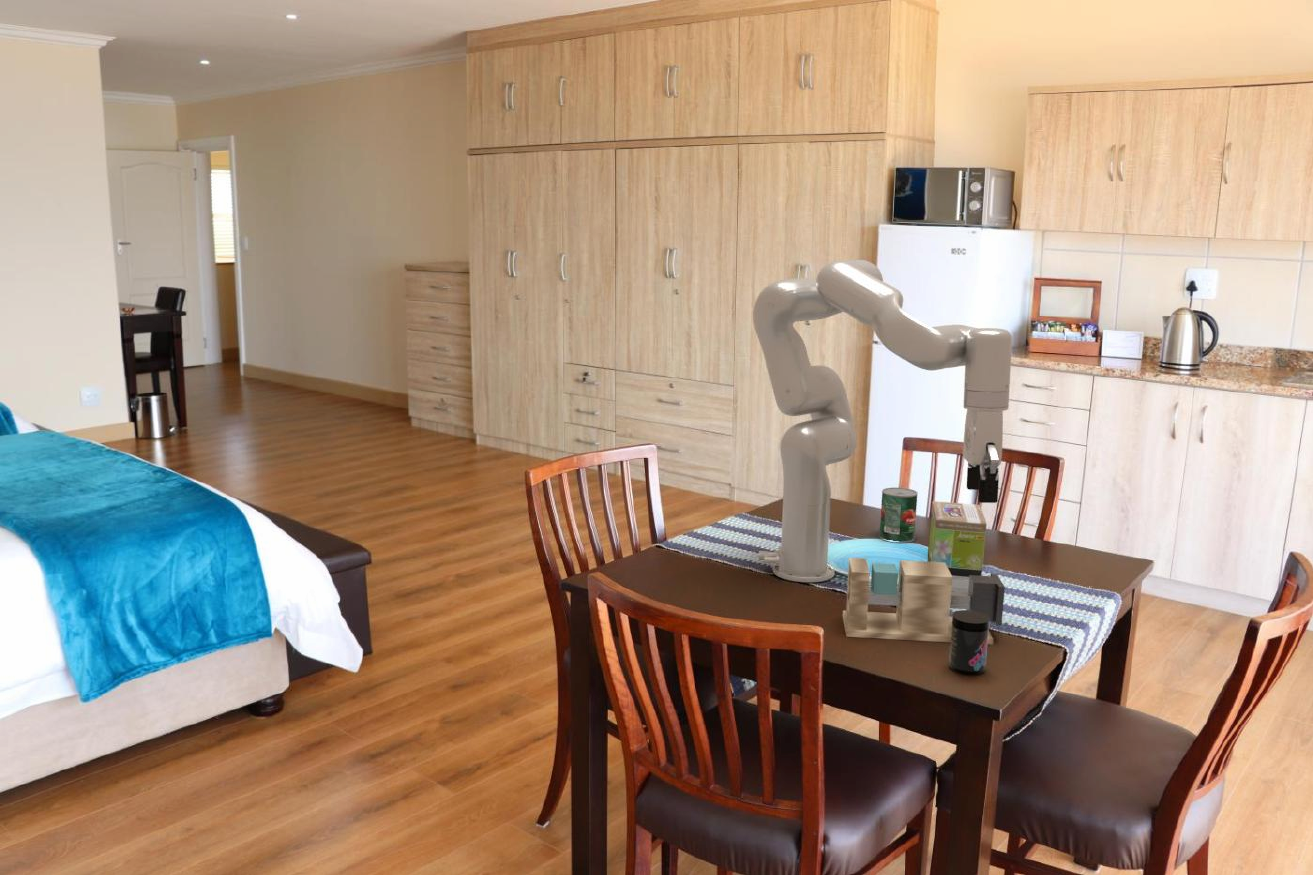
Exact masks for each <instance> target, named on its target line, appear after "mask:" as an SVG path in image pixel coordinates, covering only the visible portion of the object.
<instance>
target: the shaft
mask: <svg viewBox="0 0 1313 875" xmlns="http://www.w3.org/2000/svg"><path fill="white" fill-rule="evenodd" d="M1005 588H1006V587H1005V585H1004V584H1003V582H1002V580H1001V578H1000V577H999V575H998V574H997V573H990V575H982V576H976V575H969V586H968V592H965V591H951V603H950V609H957V610H958V609H959V610H971V611H977V612H981V613H984V614H986V615H987V616H989V618H990V623H994V624H995V626H1002V625H1003V623H1002V622H1003V613H1004V601H1005V600H1004V599H1005V591H1006V590H1005ZM901 598H902V588H898V587H897V595H884V594H873V590H872V586H869V596H868V605H878V606H879V605H880V606H896V607H897V606H901Z"/></svg>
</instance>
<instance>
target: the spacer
mask: <svg viewBox="0 0 1313 875" xmlns="http://www.w3.org/2000/svg"><path fill="white" fill-rule="evenodd" d="M898 579H899V571H898V569H897V566H896V564H894V563H879V562H878V563H877V562H873V563H871V576H870V587H872V590H873V594H884V595H897V588H898Z"/></svg>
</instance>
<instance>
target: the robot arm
mask: <svg viewBox="0 0 1313 875" xmlns="http://www.w3.org/2000/svg"><path fill="white" fill-rule="evenodd" d="M903 305H904V296H903V294H902V292H901V291H900V290H899V289H897V287H896V288H895V287H894V286H892V285H890V284H889V283H886V282H885V281H884V279H883V274H882V272H881V270H880V269H879V268H878V266H876V265H875V264H874V263H872V261H871V262H870V261H869V260H865V259H842V260H840V259H839V260H835V261H830V262H829V263H827V264H825V265H824V266H823V267H822V268H821V269H820V270H819V272H818V274H817V276H816V277H803V278H787V279H786V278H785V279H780V280H777V281H774V282H772V283H770V284H768V285H767V286H765V287H764V288H763V289H762V290H761V292H760V293H759V294H758V296H757V298H756V300H755V302H754V306H753V311H752V312H753V313H752V320H753V326H754V330H755V334H756V335H757V339H758V342H759V344H760V348H761V350H762V352H763V357H764V361H765V365H766V368H767V374H768V377H769V381H770V385H771V388H772V389H771V390H772V392H773V395H774V400H775V402H776V405H777V408H778V410H779V411H780V412H781V413H782V414H784V415H786V416H789V417H799V416H805V415H810V417H811V420H807V421H801V422H798V423H796V424H794V425H792V426H791V427H789V428H788V429H787V430H786V431H785V432H784V433H783V436H782V438H781V441H780V456H781V462H782V463H781V465H782V472H783V487H782V488H783V489H782V491H783V493H782V498H783V499H782V514H781V515H782V520H781V541H780V542H781V544H780V545H781V546H779V547H778V548H779V550H777V549H776V550H775V549H774V550H773V551H768V550H759V551H758V561H764V562H763V564H772V573H773V574H774V575H775V576H777V577H779V578H781V579H783V580H786V581H790V582H796V583H799V582H800V583H819V582H826V581H829V580H831V579H832V578H833V577H834V576H835V570H834V569H835V568H834V569H831V567H830V566H828V565H827V563H828V557H829V538H830V519H831V518H830V516H831V499H832V498H831V496H832V494H831V492H832V491H831V489H832V487H831V482H830V478H829V475H828V472H827V466H828V465H832V464H836V463H840V462H843V461H845V460H847V459H849V458H850V457H851V456H852V455H853V453H854V452H855V450H856V447H857V439H858V438H857V431H856V430H857V429H856V427H855V426H856V425H855V421H854V418H853V414H852V411H851V410H852V409H851V406H850V404H849V399H848V395H847V392H846V388H845V385H844V382H843V381H842V378H841V376H839V374H838V373H837V372H836V371H835V370H834V369H832V368H831V367H828V366H826V365H819V364H818V365H812V364H811V362H810V358H809V354H808V350H807V347H806V344H805V342H804V340H803V338H802V337H801V335H800V333H799V332H798V331H797V329H795V327H794V323H795V322H806V321H818V320H823V319H826V318H829V317H833V316H836V315H838V314H841V313H845V314H847V315H848V316H850V317H852V318H854V319H855V320H857V321H858V322H860V323H861V324H863V325H865V326H867V327H869V328H870V329H871V330H873V331H874V334H875V335H876V337H877V338H878V339H879V340H878V341H880V342H881V344H882V345H883V346H884V347H885V348H886V349H887V350H889V351H890V352H891V353H893V354H894V355H896V356H897V357H899V358H901V359H902V360H904V361H906V362H908V363H909V364H910V365H912V366H914V367H917V368H919V369H922V370H926V371H939V370H944V369H950V368H958V367H964V385H963V388H964V390H963V408H964V409H966V415H965V424H964V431H963V434H964V435H963V445H962V456H963V459H964V460H965V461H966V462H967V466H968V467H967V470H966V488H967V490H970V491H971V490H973V491H974V490H978V491H977V493H978V495H977V496H978V497H977V501H978V503H980V504H981V503H982V504H986V503H989V504H993V503H994V504H996V503H998V501H999V482H1000V480H999V479H1000V478H999V476H1000V475H999V468H998V467H999V466H1001V463H1002V459H1003V458H1002V457H1003V441H1004V440H1003V435H1004V434H1003V433H1004V428H1003V427H1004V421H1003V419H1004V418H1003V417H1004V416H1003V414H1004V413H1003V411H1008V410H1009V405H1010V404H1009V403H1010V402H1009V401H1010V387H1011V386H1010V384H1011V366H1012V365H1011V364H1012V363H1011V362H1012V346H1013V338H1012V334H1011V332H1010V331H1008V330H1006V329H1003V328H998V327H997V328H996V327H995V328H994V327H993V328H991V327H982V328H980V327H979V328H978V327H972V326H969V325H962V324H948V325H938V326H929V325H928V324H926V323H924V322H922V321H920V320H918V319H917V318H915V317H913V316H912V315H911V314H909V313H907V312H906V311H905V310H904V309H903Z"/></svg>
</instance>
